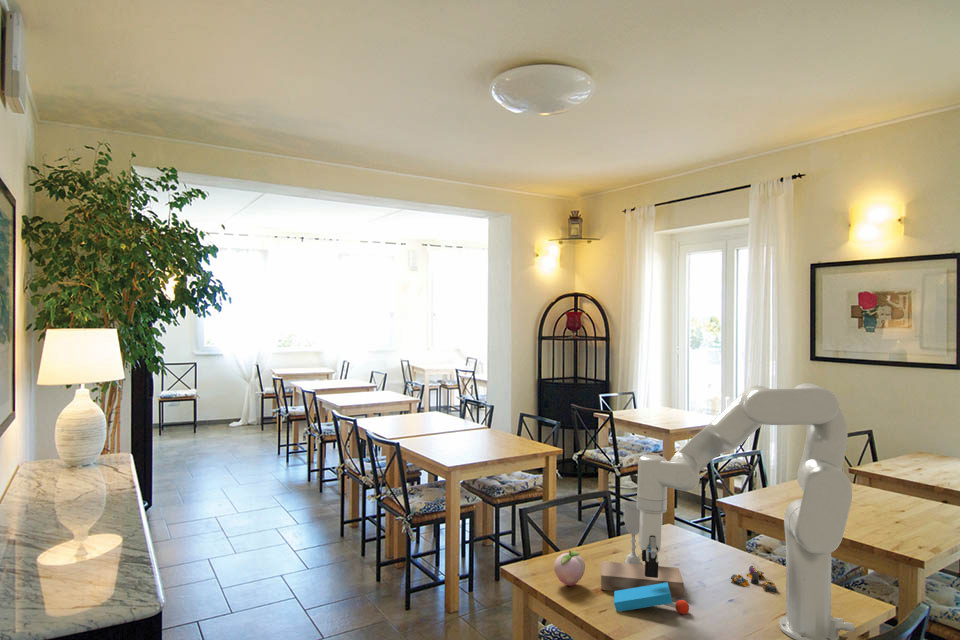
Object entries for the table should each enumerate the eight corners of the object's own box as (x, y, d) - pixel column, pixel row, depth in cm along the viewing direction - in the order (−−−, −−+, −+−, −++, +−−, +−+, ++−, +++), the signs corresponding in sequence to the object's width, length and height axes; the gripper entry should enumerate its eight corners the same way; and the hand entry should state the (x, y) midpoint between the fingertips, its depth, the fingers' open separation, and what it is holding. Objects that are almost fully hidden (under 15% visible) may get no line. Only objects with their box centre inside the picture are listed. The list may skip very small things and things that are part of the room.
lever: (621, 629, 149) (692, 619, 145) (613, 602, 149) (684, 591, 145) (621, 617, 155) (689, 606, 151) (614, 591, 156) (681, 579, 152)
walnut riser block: (678, 581, 167) (678, 567, 167) (683, 597, 157) (683, 582, 157) (600, 574, 171) (600, 561, 171) (601, 589, 161) (601, 575, 161)
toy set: (757, 598, 157) (757, 581, 158) (725, 581, 168) (726, 565, 168) (789, 592, 162) (789, 575, 162) (756, 575, 172) (756, 559, 173)
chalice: (617, 559, 182) (617, 502, 182) (634, 556, 185) (634, 500, 185) (632, 568, 175) (632, 509, 176) (649, 565, 178) (650, 506, 179)
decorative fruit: (561, 576, 170) (562, 542, 170) (588, 582, 165) (588, 548, 166) (548, 588, 162) (548, 552, 162) (576, 595, 157) (576, 559, 157)
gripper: (634, 492, 160) (632, 554, 160) (639, 512, 143) (636, 581, 143) (662, 495, 158) (660, 557, 158) (670, 515, 141) (668, 585, 141)
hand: (649, 568), depth 151 cm, fingers open, 9 cm apart
